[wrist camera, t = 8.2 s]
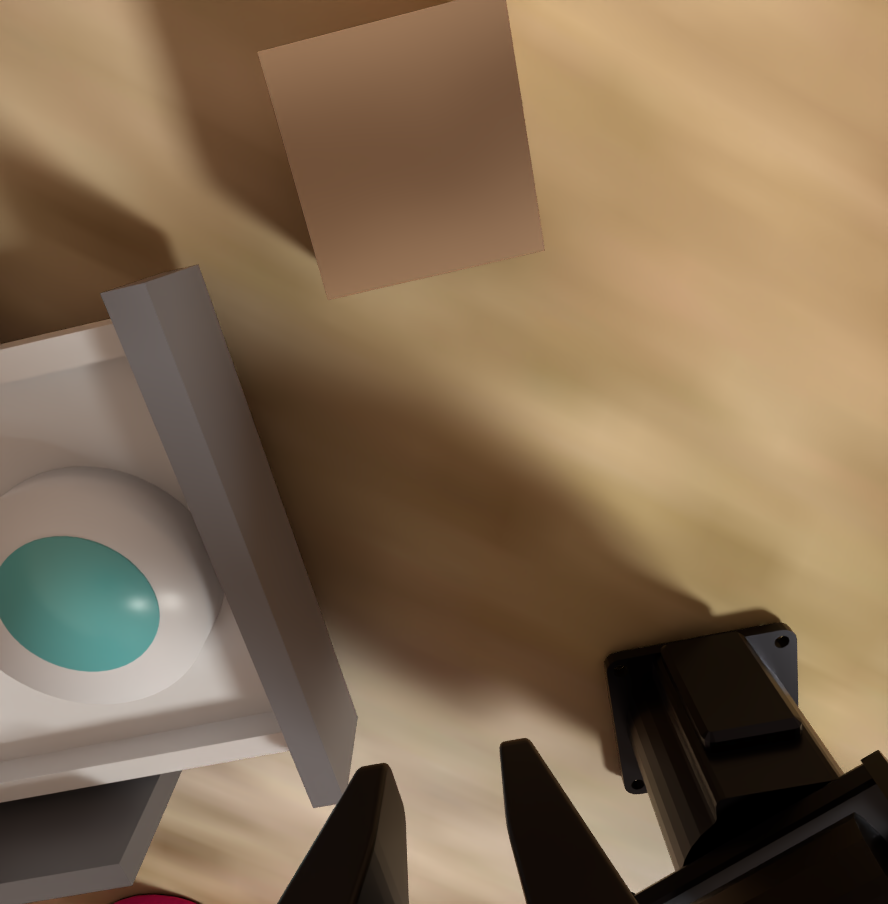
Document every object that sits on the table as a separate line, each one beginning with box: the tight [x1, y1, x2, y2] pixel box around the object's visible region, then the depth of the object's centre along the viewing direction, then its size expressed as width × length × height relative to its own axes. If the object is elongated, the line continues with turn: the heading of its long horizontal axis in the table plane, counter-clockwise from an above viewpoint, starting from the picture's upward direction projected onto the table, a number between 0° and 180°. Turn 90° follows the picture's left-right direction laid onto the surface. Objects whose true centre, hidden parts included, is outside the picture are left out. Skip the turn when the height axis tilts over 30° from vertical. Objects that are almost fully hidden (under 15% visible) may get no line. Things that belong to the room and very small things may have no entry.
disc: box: [0, 466, 224, 704], centre depth 19 cm, size 7×7×2 cm
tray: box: [0, 265, 358, 808], centre depth 19 cm, size 16×14×3 cm
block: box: [257, 0, 545, 300], centre depth 15 cm, size 5×5×4 cm
